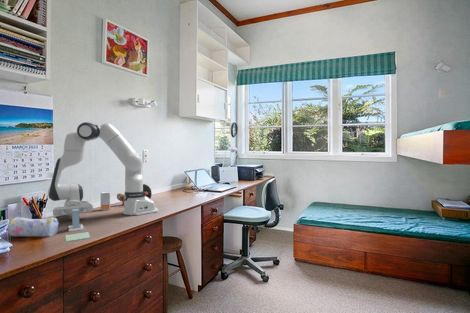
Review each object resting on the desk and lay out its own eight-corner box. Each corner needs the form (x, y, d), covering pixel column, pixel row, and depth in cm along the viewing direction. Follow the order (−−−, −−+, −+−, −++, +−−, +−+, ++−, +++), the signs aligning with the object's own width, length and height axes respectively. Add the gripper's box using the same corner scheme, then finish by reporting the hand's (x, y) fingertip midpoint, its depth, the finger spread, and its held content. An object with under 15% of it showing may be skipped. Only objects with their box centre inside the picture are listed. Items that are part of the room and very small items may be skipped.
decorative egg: (146, 201, 224) (146, 182, 223) (154, 203, 215) (154, 184, 215) (131, 203, 215) (131, 184, 214) (139, 206, 206) (139, 185, 206)
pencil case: (61, 233, 144) (60, 214, 143) (50, 239, 135) (50, 219, 135) (18, 233, 143) (18, 215, 142) (5, 239, 134) (4, 219, 134)
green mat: (88, 233, 144) (88, 231, 144) (90, 238, 135) (90, 237, 135) (65, 236, 138) (65, 235, 138) (65, 242, 130) (65, 241, 130)
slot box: (82, 226, 155) (82, 224, 155) (83, 230, 148) (83, 227, 147) (68, 228, 151) (68, 225, 151) (69, 232, 144) (68, 229, 144)
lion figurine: (117, 206, 206) (116, 194, 206) (116, 204, 211) (116, 193, 211) (138, 204, 212) (137, 192, 212) (137, 203, 217) (137, 191, 217)
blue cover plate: (78, 227, 152) (78, 208, 152) (79, 229, 148) (79, 210, 148) (72, 227, 150) (72, 209, 150) (72, 230, 147) (72, 211, 146)
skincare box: (100, 210, 193) (100, 193, 193) (100, 209, 197) (100, 192, 197) (110, 209, 196) (109, 192, 195) (110, 208, 200) (109, 191, 199)
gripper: (52, 204, 165) (51, 209, 154) (91, 201, 176) (93, 205, 165) (52, 215, 166) (52, 220, 154) (91, 211, 176) (93, 215, 165)
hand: (74, 212), depth 159 cm, fingers open, 8 cm apart
